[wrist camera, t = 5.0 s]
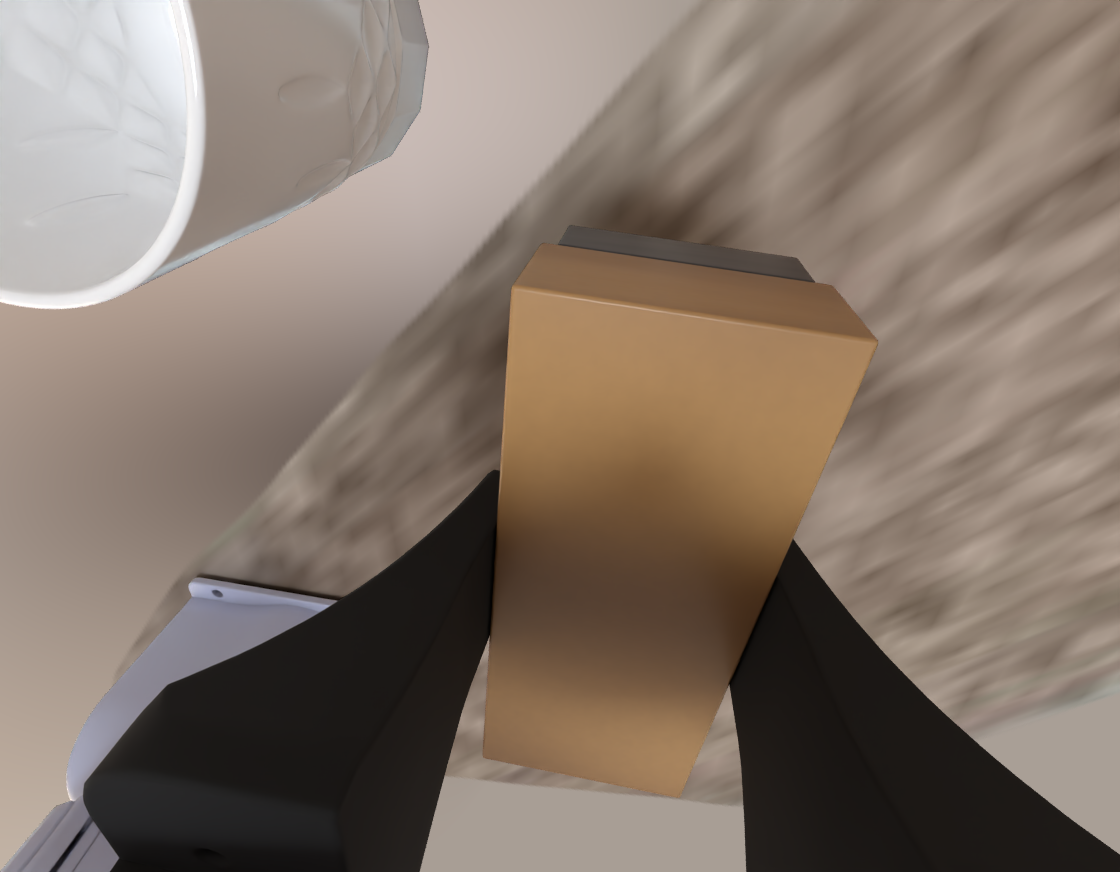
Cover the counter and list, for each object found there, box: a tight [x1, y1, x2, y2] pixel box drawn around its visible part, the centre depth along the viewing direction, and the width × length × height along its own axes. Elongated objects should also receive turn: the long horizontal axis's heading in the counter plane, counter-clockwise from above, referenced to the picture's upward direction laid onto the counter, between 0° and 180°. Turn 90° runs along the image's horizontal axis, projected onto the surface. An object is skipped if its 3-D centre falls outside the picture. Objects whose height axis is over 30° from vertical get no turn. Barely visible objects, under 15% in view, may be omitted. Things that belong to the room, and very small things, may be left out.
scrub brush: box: [483, 225, 878, 798], centre depth 11 cm, size 11×4×4 cm, turn 174°
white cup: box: [0, 0, 429, 309], centre depth 11 cm, size 8×8×10 cm
